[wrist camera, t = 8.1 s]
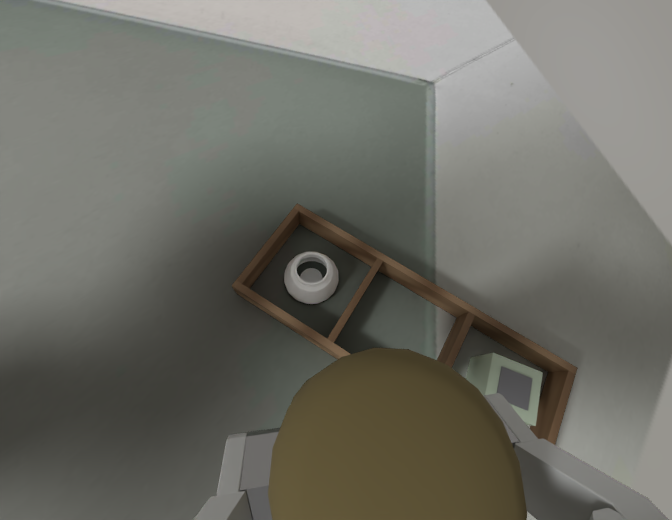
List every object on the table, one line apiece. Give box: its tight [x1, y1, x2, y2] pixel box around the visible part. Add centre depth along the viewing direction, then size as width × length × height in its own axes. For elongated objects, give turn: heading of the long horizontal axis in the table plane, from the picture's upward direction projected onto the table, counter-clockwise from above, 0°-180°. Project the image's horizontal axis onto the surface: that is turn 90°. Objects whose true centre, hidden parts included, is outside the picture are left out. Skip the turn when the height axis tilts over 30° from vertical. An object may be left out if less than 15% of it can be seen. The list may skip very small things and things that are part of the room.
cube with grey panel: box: [466, 353, 543, 426], centre depth 27 cm, size 4×4×4 cm
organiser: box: [232, 204, 577, 445], centre depth 29 cm, size 28×10×2 cm, turn 58°
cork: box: [268, 348, 527, 520], centre depth 11 cm, size 6×6×11 cm
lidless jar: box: [284, 252, 339, 304], centre depth 30 cm, size 5×3×5 cm
